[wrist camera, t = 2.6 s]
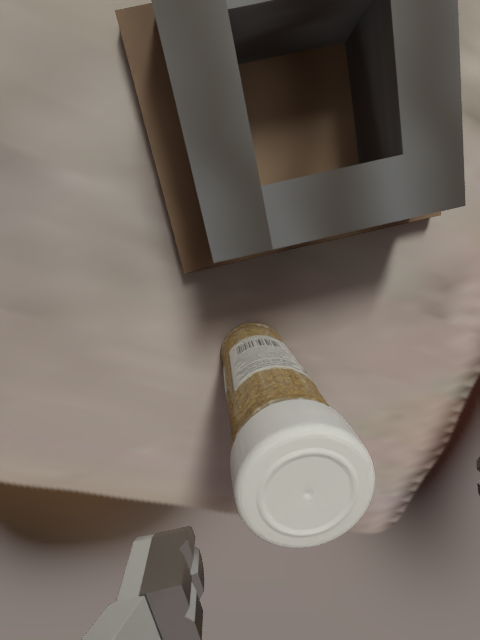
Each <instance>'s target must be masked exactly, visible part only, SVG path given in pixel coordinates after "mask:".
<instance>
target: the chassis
mask: <svg viewBox="0 0 480 640" xmlns="http://www.w3.org/2000/svg"><path fill="white" fill-rule="evenodd" d="M151 1H152V3H150V4H145V5H140V6H135V7H130V8H125V9H120V10H115V13H116V16H117V20H118V24H119V28H120V32H121V35H122V39H123V43H124V47H125V51H126V54H127V58H128V62H129V66H130V70H131V74H132V77H133V81H134V85H135V89H136V93H137V96H138V100H139V104H140V108H141V112H142V115H143V119H144V123H145V127H146V131H147V134H148V138H149V142H150V146H151V150H152V153H153V157H154V161H155V165H156V169H157V173H158V176H159V180H160V184H161V188H162V192H163V195H164V199H165V203H166V207H167V211H168V214H169V218H170V222H171V226H172V230H173V233H174V237H175V241H176V245H177V249H178V252H179V256H180V260H181V264H182V268H183V272H184V274H186V273H190V272H195V271H199V270H203V269H208V268H212V267H216V266H221V265H225V264H230V263H234V262H238V261H243V260H247V259H251V258H256V257H260V256H264V255H269V254H273V253H278V252H282V251H286V250H291V249H295V248H299V247H304V246H308V245H312V244H317V243H321V242H326V241H330V240H334V239H339V238H343V237H347V236H352V235H356V234H360V233H365V232H369V231H374V230H378V229H382V228H387V227H391V226H395V225H400V224H404V223H408V222H413V221H417V220H422V219H426V218H430V217H435V216H439V215H441V211H444V210H448V209H453V208H457V207H462V206H465V182H464V156H463V130H462V104H461V77H460V51H459V25H458V0H151Z"/></svg>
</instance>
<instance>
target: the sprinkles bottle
mask: <svg viewBox="0 0 480 640" xmlns="http://www.w3.org/2000/svg"><path fill="white" fill-rule="evenodd" d="M221 358H222V364H223V367H224V368H223V375H224V385H225V394H226V399H227V402H228V408H229V417H230V425H231V430H232V440H233V443H232V449H231V455H230V470H231V479H232V487H233V493H234V499H235V504H236V507H237V510H238V513H239V515H240V517H241V519H242V520H243V522H244V523H245V525H246V526H247V527H248V528H249V529H250V530H251V531H252V532H253V533H254V534H255V535H257V536H258V537H260V538H262V539H263V540H265V541H267V542H269V543H272V544H274V545H277V546H282V547H289V548H306V547H313V546H317V545H321V544H324V543H326V542H329V541H331V540H334V539H335V538H337V537H339V536H340V535H342V534H344V533H345V532H347V531H348V530H349V529H350V528H351V527H352V526H354V525H355V524H356V523H357V522H358V520H359V519H360V518H361V517H362V515H363V514H364V513H365V511H366V510H367V508H368V506H369V504H370V501H371V499H372V495H373V491H374V485H375V472H374V467H373V462H372V460H371V457H370V455H369V453H368V451H367V449H366V448H365V446H364V445H363V443H362V442H361V441H360V439H359V438H358V436H357V435H356V434H355V432H354V431H353V429H352V428H351V427H350V425H349V424H348V423H347V422H346V421H345V419H344V418H343V417H342V416H341V415H340V414H339V413H338V412H336V411H335V410H334V409H332V408H331V407H329V405H328V404H327V403H326V401H325V400H324V398H323V397H322V395H321V394H320V393H319V391H318V389H317V387H316V385H315V384H314V382H313V381H312V380H311V378H310V377H309V376H308V374H307V373H306V372H305V370H304V369H303V367H302V366H301V365H300V364H299V362H298V361H297V359H296V358H295V357H294V355H293V354H292V353H291V351H290V350H289V349H288V348H287V346H286V345H285V344H283V342H282V339H281V337H280V336H279V335H278V333H277V332H276V331H275V330H274V329H273V328H271V327H270V326H268V325H266V324H263V323H257V322H252V323H244V324H242V325H239V326H237V327H235V328H234V329H233V330H232V331H231V332H230V333H229V334H228V335H227V337H226V338H225V340H224V341H223V343H222V347H221Z"/></svg>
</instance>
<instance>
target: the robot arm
mask: <svg viewBox="0 0 480 640" xmlns="http://www.w3.org/2000/svg"><path fill="white" fill-rule="evenodd" d="M477 470H478V471H479V472H480V457H479V458H478V459H477ZM478 493H479V495H480V479H479V481H478ZM194 545H195V535H194V532H193V529H192V527H191V526H187V527H182V528H178V529H173V530H168V531H163V532H159V533H155V534H151V535H147V536H141V537H138V538H136V539H135V541H134V542H133V545H132V548H131V552H130V555H129V559H128V562H127V566H126V569H125V572H124V576H123V579H122V582H121V586H120V589H119V593H118V597H117V599H116V602H114V603H111V604H109V605H108V607H107V608H106V609H105V611H104V612H103V613H102V614H101V616H100V617H99V618H98V619H97V620H96V622H95V623H94V624H93V626H92V627H91V628H90V629H89V631H88V632H87V633H86V635H85V636H84V637H83V638H82V639H81V640H202V621H203V609H202V606H201V603H200V601H199V599H200V597H201V595H202V594H203V592H204V570H203V562H202V557H201V554H200V550H199V549H198V548H196V547H195V546H194Z"/></svg>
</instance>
